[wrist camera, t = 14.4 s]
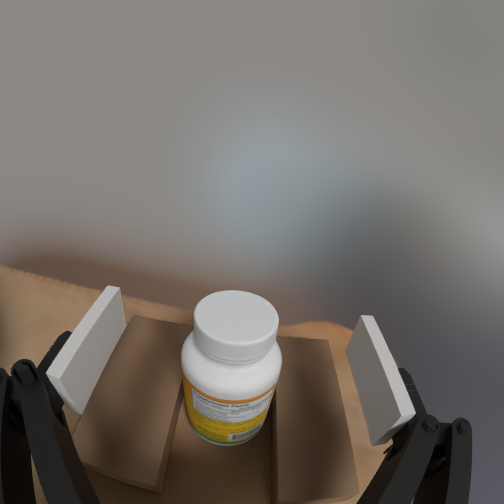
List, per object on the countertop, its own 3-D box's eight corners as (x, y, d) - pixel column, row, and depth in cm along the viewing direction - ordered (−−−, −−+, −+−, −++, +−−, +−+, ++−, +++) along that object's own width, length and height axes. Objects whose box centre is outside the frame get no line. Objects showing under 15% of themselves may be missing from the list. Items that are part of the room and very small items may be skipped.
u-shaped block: (77, 464, 10) (65, 452, 9) (136, 331, 23) (133, 315, 22) (346, 500, 11) (359, 493, 10) (321, 355, 23) (327, 339, 22)
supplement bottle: (205, 378, 20) (208, 272, 16) (271, 399, 19) (302, 297, 14) (174, 429, 15) (155, 328, 11) (249, 458, 14) (279, 372, 10)
